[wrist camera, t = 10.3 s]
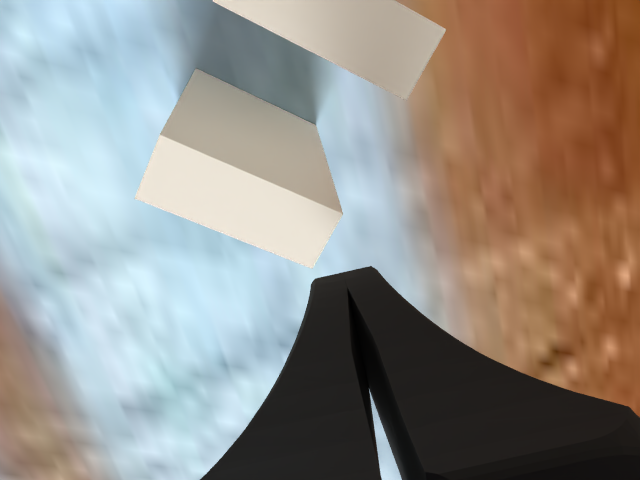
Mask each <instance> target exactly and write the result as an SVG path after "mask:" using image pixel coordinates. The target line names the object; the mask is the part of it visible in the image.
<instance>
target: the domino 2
mask: <svg viewBox="0 0 640 480" xmlns="http://www.w3.org/2000/svg"><path fill="white" fill-rule="evenodd" d="M135 199H137V200H140V201H142V202H145V203H147V204H150V205H152V206H155V207H157V208H160V209H163V210H165V211H168V212H170V213H173V214H175V215H178V216H180V217H183V218H185V219H188V220H190V221H193V222H195V223H198V224H200V225H203V226H205V227H208V228H211V229H213V230H216V231H218V232H221V233H223V234H226V235H228V236H231V237H233V238H236V239H238V240H241V241H243V242H246V243H248V244H251V245H253V246H256V247H259V248H261V249H264V250H266V251H269V252H271V253H274V254H276V255H279V256H281V257H284V258H286V259H289V260H291V261H294V262H296V263H299V264H302V265H304V266H307V267H309V268H313V267H314V265H315V263H316V261H317V260H318V258H319V256H320V254H321V252H322V251H323V249H324V247H325V245H326V243H327V242H328V240H329V238H330V236H331V235H332V233H333V231H334V229H335V227H336V226H337V224H338V222H339V220H340V218H341V217H342V215H343V212H342V209H341V205H340V202H339V199H338V196H337V192H336V189H335V186H334V182H333V179H332V176H331V173H330V169H329V166H328V163H327V160H326V156H325V153H324V150H323V146H322V143H321V140H320V137H319V133H318V130H317V127H316V125H315V124H313V123H311V122H308V121H306V120H304V119H302V118H300V117H298V116H296V115H294V114H292V113H289V112H287V111H285V110H283V109H281V108H279V107H277V106H275V105H273V104H270V103H268V102H266V101H264V100H262V99H260V98H258V97H256V96H254V95H251V94H249V93H247V92H245V91H243V90H241V89H239V88H237V87H235V86H232V85H230V84H228V83H226V82H224V81H222V80H220V79H218V78H216V77H213V76H211V75H209V74H207V73H205V72H203V71H201V70H199V69H197V68H196V69H195V71H194V73H193V74H192V76H191V78H190V80H189V82H188V84H187V85H186V87H185V89H184V91H183V93H182V95H181V97H180V98H179V100H178V102H177V104H176V106H175V108H174V109H173V111H172V113H171V115H170V117H169V119H168V120H167V122H166V124H165V126H164V128H163V130H162V132H161V133H160V135H159V138H158V140H157V143H156V146H155V148H154V151H153V153H152V156H151V158H150V161H149V163H148V166H147V168H146V171H145V173H144V176H143V178H142V181H141V183H140V186H139V189H138V191H137V194H136V196H135Z"/></svg>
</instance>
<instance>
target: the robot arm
mask: <svg viewBox="0 0 640 480" xmlns="http://www.w3.org/2000/svg"><path fill="white" fill-rule="evenodd" d="M369 389H370V392H371V395H372V398H373V401H374V403H375V406H376V409H377V412H378V414H379V417H380V420H381V423H382V425H383V428H384V431H385V434H386V436H387V439H388V442H389V444H390V447H391V450H392V453H393V455H394V458H395V461H396V464H397V466H398V469H399V472H400V475H401V478H402V480H640V417H638V416H637V415H636V414H635V413H634V412H633V411H632V409H631V408H629V407H628V406H624V405H621V404H617V403H613V402H610V401H606V400H602V399H598V398H595V397H591V396H587V395H584V394H580V393H576V392H573V391H570V390H567V389H564V388H561V387H558V386H555V385H553V384H550V383H547V382H544V381H541V380H538V379H536V378H533V377H531V376H528V375H526V374H523V373H521V372H519V371H516V370H514V369H512V368H510V367H508V366H505V365H503V364H501V363H499V362H497V361H495V360H492V359H490V358H488V357H487V356H485V355H483V354H481V353H479V352H477V351H475V350H474V349H472V348H470V347H469V346H467V345H465V344H464V343H462V342H461V341H459V340H457V339H456V338H454V337H453V336H451V335H450V334H448V333H447V332H446V331H444V330H443V329H441V328H440V327H439V326H437V325H436V324H435V323H433V322H432V321H430V320H429V319H428V318H427V317H425V316H424V315H423V314H422V313H420V312H419V311H418V310H417V309H416V308H415V307H413V306H412V305H411V304H410V303H409V302H408V301H406V300H405V299H404V298H403V297H402V296H401V295H400V294H399V293H398V292H397V291H396V290H395V289H394V288H393V287H392V286H391V285H390V284H389V283H388V282H387V281H386V280H385V279H384V278H383V277H382V276H381V274H380V273H379V272H378V271H377V270H376V269H375V268H373V267H372V266H370V267H365V268H361V269H356V270H352V271H347V272H343V273H338V274H334V275H330V276H325V277H321V278H316V279H315V280H314V281H313V282H312V284H311V290H310V296H309V300H308V304H307V308H306V311H305V315H304V318H303V321H302V324H301V327H300V329H299V332H298V335H297V338H296V340H295V343H294V345H293V347H292V349H291V352H290V354H289V356H288V358H287V361H286V363H285V365H284V367H283V369H282V371H281V373H280V375H279V377H278V379H277V381H276V382H275V384H274V386H273V388H272V389H271V391H270V393H269V394H268V396H267V398H266V399H265V401H264V402H263V404H262V405H261V407H260V408H259V410H258V411H257V413H256V414H255V416H254V417H253V419H252V420H251V422H250V423H249V424H248V426H247V427H246V429H245V430H244V431H243V433H242V434H241V435H240V436H239V438H238V439H237V440H236V441H235V442H234V444H233V445H232V446H231V447H230V448H229V449H228V451H227V452H226V453H225V454H224V455H223V457H222V458H221V459H220V460H219V461H218V462H217V463H216V464H215V465H214V466H213V467H212V468H211V469H210V471H209V472H208V473H207V474H206V475H205V476H204V477H202V478H201V479H200V480H382V479H381V475H380V468H379V460H378V453H377V445H376V438H375V430H374V423H373V415H372V408H371V400H370V393H369Z"/></svg>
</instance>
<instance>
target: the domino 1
mask: <svg viewBox="0 0 640 480" xmlns="http://www.w3.org/2000/svg"><path fill="white" fill-rule="evenodd" d="M213 2H215V3H217V4H219V5H221V6H223V7H224V8H226V9H228V10H230V11H232V12H234V13H236V14H238V15H240V16H242V17H244V18H246V19H248V20H250V21H252V22H254V23H256V24H258V25H260V26H262V27H264V28H266V29H267V30H269V31H271V32H273V33H275V34H277V35H279V36H281V37H283V38H285V39H287V40H289V41H291V42H293V43H295V44H297V45H299V46H301V47H303V48H305V49H307V50H309V51H310V52H312V53H314V54H316V55H318V56H320V57H322V58H324V59H326V60H328V61H330V62H332V63H334V64H336V65H338V66H340V67H342V68H344V69H346V70H348V71H350V72H351V73H353V74H355V75H357V76H359V77H361V78H363V79H365V80H367V81H369V82H371V83H373V84H375V85H377V86H379V87H381V88H383V89H385V90H387V91H389V92H391V93H393V94H394V95H396V96H398V97H400V98H402V99H404V100H406V101H407V99H408V97H409V95H410V93H411V92H412V90H413V88H414V86H415V85H416V83H417V81H418V79H419V77H420V76H421V74H422V72H423V70H424V68H425V67H426V65H427V63H428V61H429V60H430V58H431V56H432V54H433V52H434V51H435V49H436V47H437V45H438V43H439V42H440V40H441V38H442V36H443V35H444V33H445V31H446V29H445V28H443V27H441V26H439V25H437V24H436V23H434V22H432V21H430V20H429V19H427V18H425V17H423V16H421V15H420V14H418V13H416V12H414V11H413V10H411V9H409V8H407V7H406V6H404V5H402V4H400V3H398V2H397V1H395V0H213Z"/></svg>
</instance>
